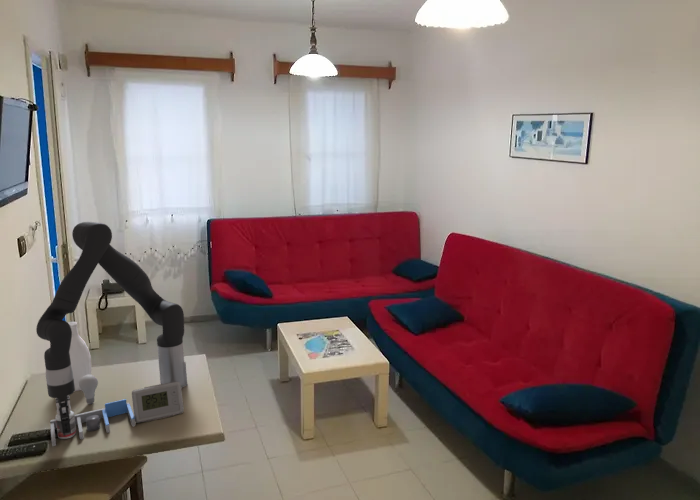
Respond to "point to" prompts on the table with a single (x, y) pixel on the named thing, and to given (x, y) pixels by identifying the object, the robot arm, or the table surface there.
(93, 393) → the lightbulb
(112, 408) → the pronged rack
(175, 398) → the digital clock
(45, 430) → the table surface
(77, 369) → the bottle
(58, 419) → the pill bottle
